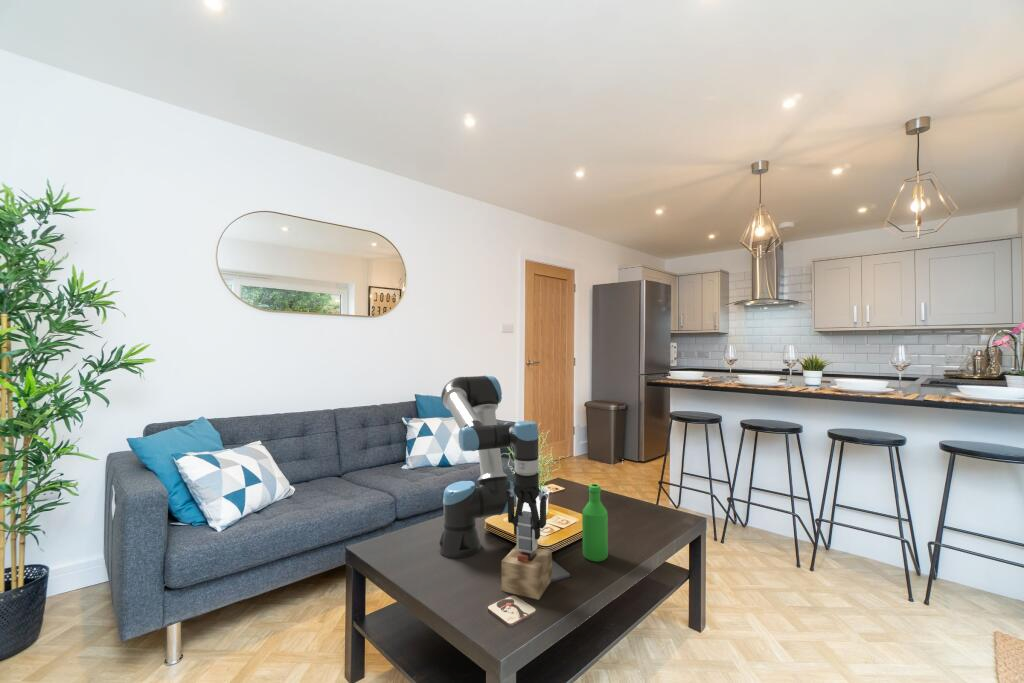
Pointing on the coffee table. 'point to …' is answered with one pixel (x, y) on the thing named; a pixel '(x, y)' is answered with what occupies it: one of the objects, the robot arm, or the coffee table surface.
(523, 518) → the column
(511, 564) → the housing
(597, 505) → the bottle
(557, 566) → the smartphone
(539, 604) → the coffee table surface
